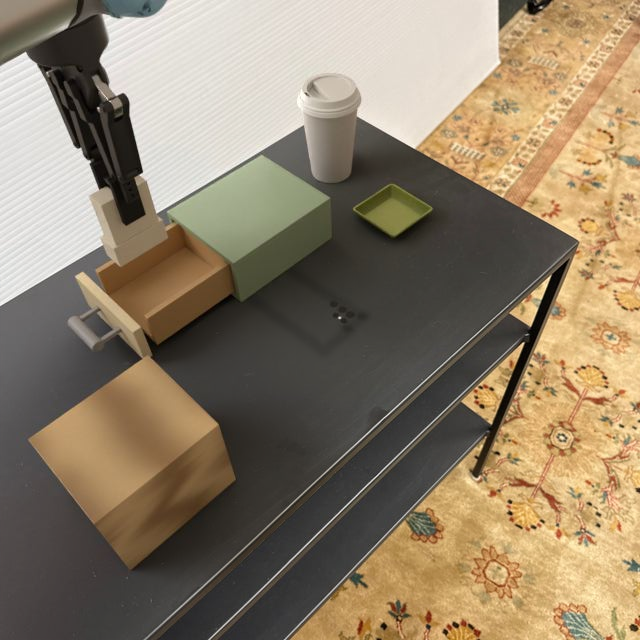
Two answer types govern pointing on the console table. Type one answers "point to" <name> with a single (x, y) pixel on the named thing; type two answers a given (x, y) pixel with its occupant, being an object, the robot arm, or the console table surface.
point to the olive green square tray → (392, 210)
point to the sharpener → (133, 237)
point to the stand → (137, 458)
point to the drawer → (154, 292)
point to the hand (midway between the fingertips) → (126, 211)
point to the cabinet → (257, 222)
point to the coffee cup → (330, 124)
